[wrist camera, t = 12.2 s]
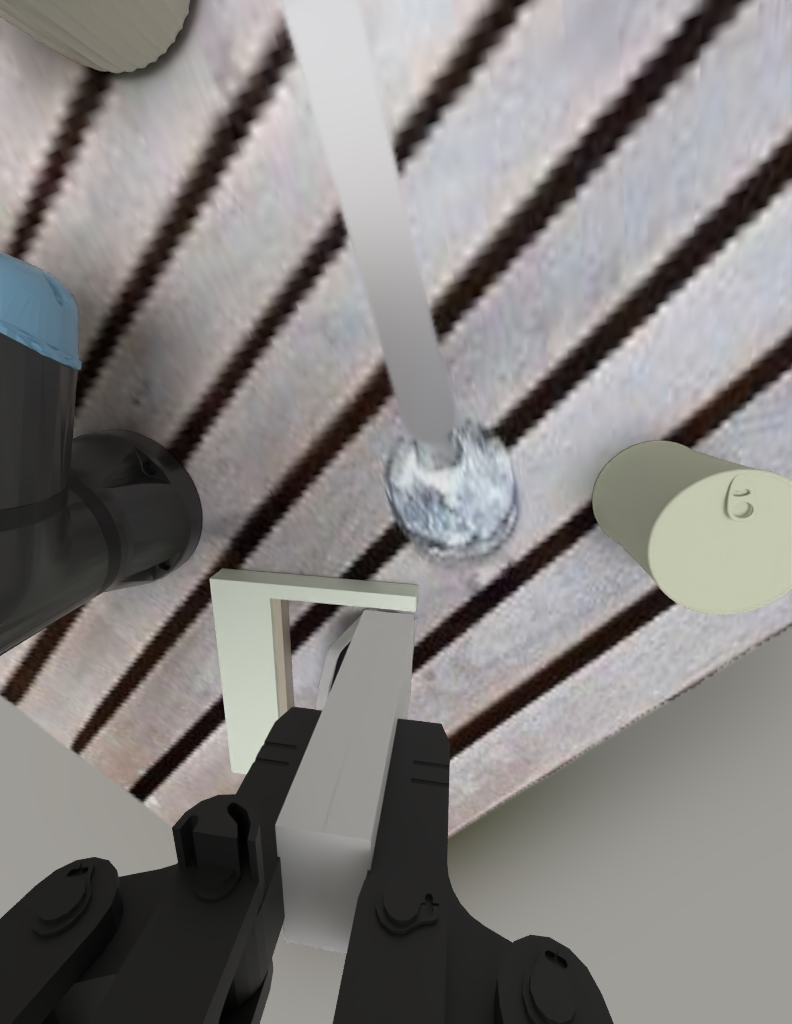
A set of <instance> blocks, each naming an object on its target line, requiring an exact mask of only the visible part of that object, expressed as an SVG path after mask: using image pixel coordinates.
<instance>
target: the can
mask: <svg viewBox="0 0 792 1024" xmlns="http://www.w3.org/2000/svg"><path fill="white" fill-rule="evenodd" d="M592 505H593V511H594V515H595V518H596V520H597V522H598V524H599V525H600V527H601V528H602V530H603V531H604V532H605V533H606V534H607V535H608V536H610V537H611V538H612V539H614V540H615V541H617V542H618V543H619V544H620V545H621V546H622V547H623V548H624V549H625V550H626V551H627V552H628V553H629V554H630V555H631V556H632V557H633V558H634V559H635V560H636V562H637V563H638V564H639V565H640V566H641V567H642V568H643V569H644V570H645V571H646V572H647V573H648V574H649V575H650V576H651V577H652V579H653V580H654V581H655V582H656V584H657V585H658V587H659V588H660V589H661V590H662V591H663V592H664V593H665V594H666V595H667V596H668V597H669V598H670V599H672V600H673V601H675V602H676V603H678V604H680V605H682V606H684V607H686V608H688V609H691V610H694V611H697V612H701V613H707V614H717V615H725V614H737V613H742V612H747V611H751V610H754V609H757V608H760V607H763V606H765V605H767V604H770V603H772V602H773V601H775V600H777V599H779V598H780V597H782V596H783V595H785V594H786V593H787V592H789V591H790V590H791V589H792V480H790V479H788V478H786V477H784V476H782V475H780V474H777V473H774V472H771V471H766V470H760V469H754V468H750V467H747V466H743V465H740V464H736V463H733V462H730V461H726V460H723V459H719V458H716V457H713V456H709V455H706V454H703V453H700V452H697V451H693V450H692V449H690V448H688V447H686V446H684V445H681V444H679V443H675V442H670V441H649V442H644V443H640V444H637V445H634V446H632V447H630V448H628V449H626V450H624V451H622V452H621V453H619V454H618V455H617V456H615V457H614V458H613V459H612V460H611V461H610V462H609V463H608V464H607V465H606V466H605V467H604V469H603V470H602V472H601V473H600V475H599V477H598V479H597V481H596V484H595V486H594V490H593V497H592Z"/></svg>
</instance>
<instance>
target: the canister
mask: <svg viewBox="0 0 792 1024" xmlns="http://www.w3.org/2000/svg"><path fill="white" fill-rule="evenodd" d="M190 1H191V0H0V17H1V18H3V19H4V20H6V21H7V22H9V23H11V24H12V25H14V26H15V27H17V28H19V29H20V30H22V31H24V32H25V33H27V34H28V35H30V36H32V37H33V38H35V39H37V40H38V41H40V42H41V43H43V44H45V45H46V46H48V47H50V48H51V49H53V50H55V51H56V52H58V53H60V54H62V55H64V56H65V57H67V58H69V59H71V60H72V61H74V62H76V63H79V64H81V65H84V66H87V67H91V68H93V69H95V70H98V71H104V72H106V71H109V72H112V73H121V72H123V71H126V72H133V71H134V70H136V69H137V68H145V67H146V66H147V65H148V64H149V63H151V62H156V61H157V59H158V57H159V56H160V55H162V54H164V53H166V52H167V49H168V47H169V46H170V45H171V44H172V43H174V42H175V39H176V36H177V34H178V32H179V31H180V30H182V29H183V23H184V20H185V18H186V16H187V15H188V14H189V4H190Z"/></svg>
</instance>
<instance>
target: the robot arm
mask: <svg viewBox="0 0 792 1024" xmlns="http://www.w3.org/2000/svg"><path fill="white" fill-rule="evenodd" d="M81 365H82V362H81V361H80V359H79V358H78V307H77V304H76V301H75V299H74V297H73V295H72V293H71V292H70V290H69V289H68V288H67V287H66V286H65V285H64V284H63V283H62V282H61V281H60V280H59V279H58V278H56V277H55V276H53V275H52V274H50V273H48V272H46V271H44V270H42V269H40V268H38V267H36V266H33V265H31V264H29V263H26V262H24V261H22V260H19V259H17V258H15V257H12V256H10V255H7V254H5V253H3V252H0V656H1V655H2V654H4V653H6V652H7V651H9V650H10V649H12V648H14V647H15V646H17V645H19V644H20V643H22V642H23V641H25V640H27V639H28V638H30V637H31V636H33V635H35V634H36V633H38V632H39V631H41V630H43V629H44V628H46V627H48V626H49V625H51V624H52V623H54V622H56V621H57V620H59V619H60V618H62V617H64V616H65V615H67V614H69V613H70V612H72V611H73V610H75V609H77V608H78V607H80V606H81V605H83V604H85V603H86V602H88V601H89V600H91V599H93V598H94V597H96V596H98V595H99V594H101V593H103V592H107V591H112V590H117V589H122V588H127V587H132V586H137V585H142V584H147V583H150V582H153V581H156V580H158V579H161V578H163V577H165V576H166V575H168V574H169V573H171V572H172V571H174V570H175V569H177V568H178V567H180V566H181V565H182V564H184V563H185V562H186V561H187V560H188V559H189V557H190V556H191V555H192V553H193V552H194V550H195V548H196V546H197V544H198V541H199V538H200V534H201V528H202V512H201V505H200V501H199V497H198V494H197V492H196V489H195V487H194V484H193V482H192V480H191V479H190V477H189V475H188V474H187V472H186V471H185V469H184V468H183V467H182V465H181V464H180V463H179V462H178V461H177V459H176V458H175V457H174V456H173V455H172V454H171V453H169V452H168V451H167V450H166V449H165V448H163V447H162V446H161V445H159V444H158V443H156V442H154V441H153V440H151V439H149V438H147V437H144V436H142V435H139V434H136V433H133V432H128V431H121V430H110V431H102V432H95V433H89V434H85V435H81V436H79V437H76V438H73V424H74V410H75V395H76V384H77V374H78V369H79V370H81ZM413 628H414V615H413V614H402V613H391V612H381V611H370V610H364V611H363V614H362V616H361V618H360V621H359V623H358V626H357V628H356V631H355V633H354V635H353V638H352V640H351V643H350V645H349V647H348V650H347V652H346V655H345V657H344V660H343V662H342V664H341V667H340V669H339V672H338V674H337V677H336V679H335V681H334V684H333V686H332V689H331V691H330V693H329V696H328V698H327V701H326V703H325V706H324V708H323V710H314V709H306V708H298V707H291V708H290V709H289V710H288V711H287V712H286V713H284V714H283V715H282V716H281V717H280V718H279V719H278V720H277V721H275V723H274V725H273V726H272V728H271V730H270V732H269V734H268V736H267V738H266V739H265V741H264V745H262V747H261V749H260V751H259V752H258V754H257V756H256V759H255V762H253V764H252V765H251V767H250V769H249V771H248V773H247V775H246V777H245V778H244V780H243V782H242V784H241V786H240V788H239V790H238V791H237V793H236V795H235V794H232V795H217V796H215V797H212V798H209V799H206V800H203V801H201V802H200V803H198V804H197V805H195V806H194V807H192V808H191V809H190V810H188V811H187V812H185V813H184V815H183V816H182V817H181V818H180V819H179V820H178V822H177V823H176V824H175V825H174V826H173V827H172V830H173V836H174V842H175V847H176V853H177V859H178V863H177V864H176V865H172V866H169V867H166V868H162V869H158V870H153V871H148V872H142V873H138V874H132V875H127V876H122V877H118V873H117V870H116V869H115V867H114V866H113V865H112V864H111V863H110V861H109V860H105V859H101V858H96V857H92V858H87V859H81V860H76V861H74V862H72V863H70V864H68V865H66V866H64V867H62V868H60V869H58V870H56V871H54V872H53V873H52V874H50V875H49V876H48V877H46V878H45V879H44V880H43V881H41V882H40V883H39V884H37V885H36V886H35V887H34V888H33V889H32V890H31V891H30V892H28V893H27V894H26V895H25V897H23V898H22V899H21V900H20V901H19V902H18V903H17V904H16V905H15V906H13V908H11V909H10V910H9V911H8V912H7V913H6V914H5V915H4V916H3V917H2V918H1V919H0V1024H260V1020H261V1017H262V1014H263V1010H264V1008H265V1004H266V1001H267V998H268V994H269V991H270V986H271V981H272V974H273V962H272V956H273V953H274V950H275V946H276V943H277V940H278V937H279V934H280V931H281V928H282V925H283V930H284V941H285V942H288V943H293V944H298V945H303V946H308V947H313V948H318V949H324V950H329V951H334V952H339V953H344V954H347V955H346V960H345V965H344V970H343V975H342V980H341V985H340V990H339V995H338V1000H337V1005H336V1010H335V1015H334V1021H333V1024H613V1021H612V1018H611V1016H610V1014H609V1011H608V1009H607V1006H606V1004H605V1001H604V999H603V997H602V994H601V992H600V990H599V988H598V986H597V985H596V983H595V981H594V980H593V978H592V976H591V974H590V972H589V970H588V968H587V967H586V966H585V965H584V964H583V963H582V962H581V961H580V960H579V959H578V958H577V957H576V955H575V954H574V953H573V952H572V951H571V950H570V949H569V948H567V947H565V946H564V945H562V944H560V943H558V942H557V941H555V940H553V939H551V938H550V937H542V936H535V935H529V936H526V937H524V938H521V939H519V940H516V941H514V942H513V943H512V942H510V941H509V940H507V939H505V938H504V937H502V936H500V935H499V934H497V933H495V932H494V931H492V930H490V929H488V928H487V927H485V926H484V925H482V924H481V923H480V922H478V921H477V920H476V919H474V918H473V917H472V916H471V915H470V914H469V913H468V912H467V911H466V909H465V908H464V907H463V906H462V905H461V904H460V902H459V900H458V898H457V897H456V895H455V893H454V891H453V889H452V886H451V883H450V879H449V877H448V867H447V844H448V842H447V841H448V805H449V765H450V742H449V740H448V738H447V735H446V733H445V731H444V729H443V727H442V724H438V723H430V722H422V721H414V720H407V714H408V707H409V701H410V695H411V677H412V653H413Z"/></svg>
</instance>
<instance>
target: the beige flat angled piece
mask: <svg viewBox="0 0 792 1024" xmlns="http://www.w3.org/2000/svg"><path fill="white" fill-rule="evenodd" d="M210 588H211V596H212V605H213V614H214V623H215V631H216V640H217V649H218V658H219V666H220V675H221V684H222V692H223V701H224V710H225V719H226V727H227V736H228V745H229V754H230V762H231V771H232V772H234V773H241V774H247V773H248V771H249V769H250V767H251V765H252V764H253V762H255V759H256V756H257V754H258V752H259V751H260V749H261V747H262V745H264V741H265V739H266V738H267V736H268V734H269V732H270V730H271V728H272V726H273V725H274V723H275V721H277V720H278V719H279V718H280V717H281V716H282V715H283V714H284V713H286V712H287V711H288V710H289V709H290V708H291V707H294V697H293V680H292V662H291V644H290V626H289V609H288V600H295V601H306V602H316V603H327V604H338V605H349V606H359V607H370V608H381V609H392V610H403V611H413V612H416V607H417V602H418V588H419V585H412V584H400V583H388V582H376V581H365V580H353V579H341V578H329V577H318V576H306V575H294V574H282V573H271V572H259V571H247V570H235V569H224V568H222V569H221V570H220V571H219V572H217V573H216V574H215V575H214V576H212V577H211V578H210Z"/></svg>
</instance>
